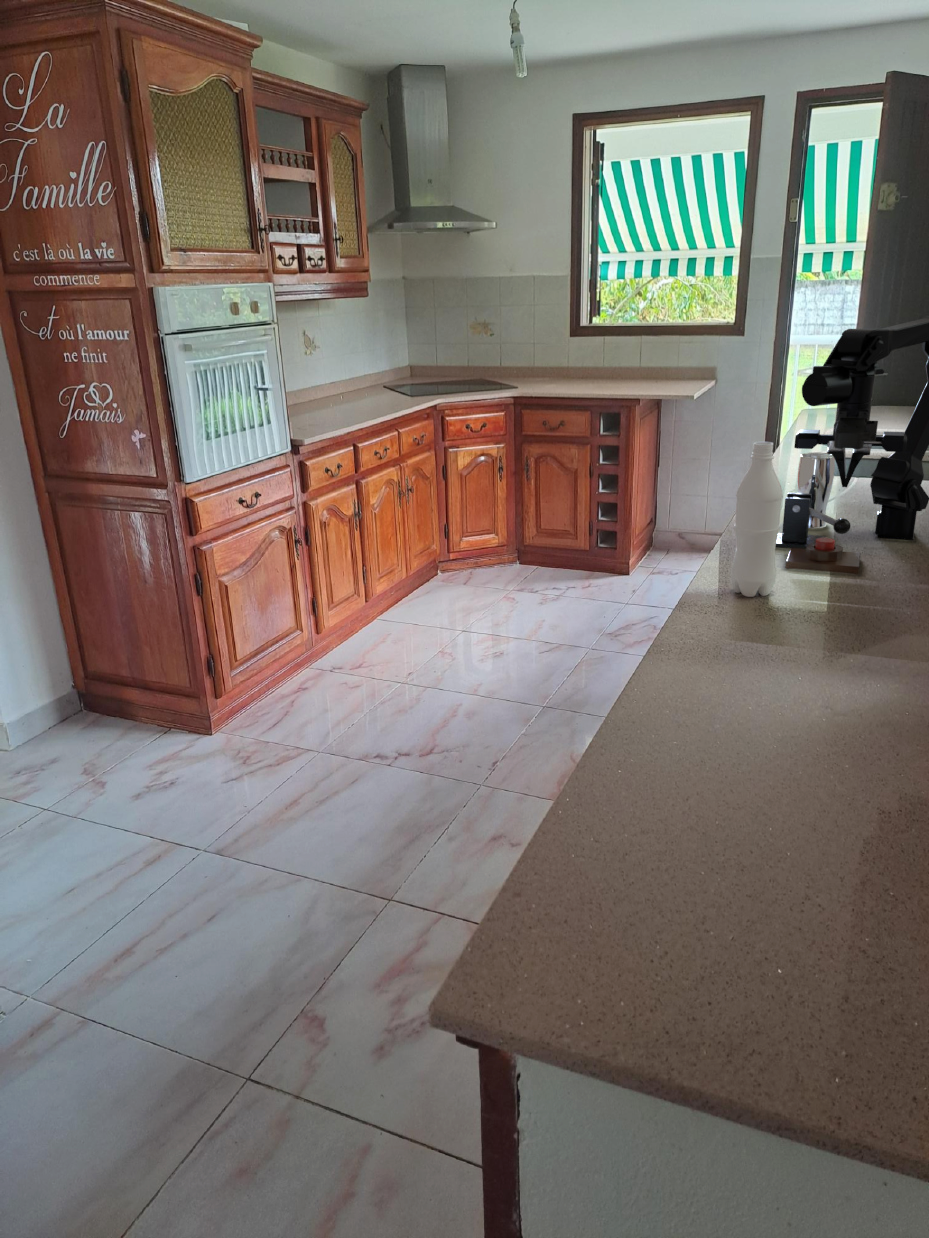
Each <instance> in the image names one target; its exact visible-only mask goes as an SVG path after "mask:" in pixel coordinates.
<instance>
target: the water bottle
mask: <svg viewBox="0 0 929 1238" xmlns="http://www.w3.org/2000/svg"><path fill="white" fill-rule="evenodd" d="M773 448H774V442H772V441H754V442H753V445H752V452H751V455H750V460H751V462H750V466H749V468H748V469H747V472H746V473H745V474H744V476H743V477H742V480H741V481H740V483H739V485H738V487H737V490H736V494H735V497H736V502H735V520H734V524H733V529H734V536H735V549H734V551H735V552H734V557H733V560H732V565H731V569H730V583H731V587H732V588H733V591H734V592H735V593H736V594H740V593H741V595H742V596H744V597H747V598H754V597H755V596H756V595H757V593H758V594H760V596H762V597H765V596H768V595H770V593H771V592H772V590H773V588H774V586H775V584H776V580H777V566H776V547H775V546H776V540H777V536H778V533H780V532H779V531H780V529H781V524H780V522H781V512H782V499H783V497H784V493H783V488H782V484H781V482H780V480H779V478H778V475H777V473H776V472H775V469H774V465H773V460H774V458H775V456H774V452H773V450H774V449H773Z"/></svg>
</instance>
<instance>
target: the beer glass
mask: <svg viewBox="0 0 929 1238" xmlns="http://www.w3.org/2000/svg"><path fill="white" fill-rule="evenodd" d="M798 465H799V466H798V468H797V469H798V470H797V481H796V482H797V493H804V494H812V497H811V507H810V508H812V509H814V510H816V511H819V512H821V513H823V514H825V515H827V514H826V513H827V507H828V503H829V500H830V497H831V494H832V489H833V484H834V480H835V471H836V469H835V468H836V461H835V458H834V456H833V455H832V454H827V452H818V451H817V452H815V451H814V452H804V453H801V454H800V458H799V464H798ZM826 527H827V522H824V521H822V520H820V519H818V518H816V517H814V516H812V515H810V517H809V528H808V529H815V530H816V529H823V528H826Z"/></svg>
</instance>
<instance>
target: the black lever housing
mask: <svg viewBox="0 0 929 1238" xmlns="http://www.w3.org/2000/svg"><path fill="white" fill-rule="evenodd" d="M794 496H797V497H799V498H793V497H794ZM811 497H812V494H804V493H798V492H788V493H787V494H786V497H785V498H784V508H783V518H782V519H783V521H782V531H781V532H778V536H777V540H776V546H775V548H780V549H782V548H783V549H791V548H800V549H806V547H807V545H809V544H812V543H816V539H817V538H827V535H819V534H818V535H816V534H809V529H810V528H809V517H810V514H809V507H811Z"/></svg>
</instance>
